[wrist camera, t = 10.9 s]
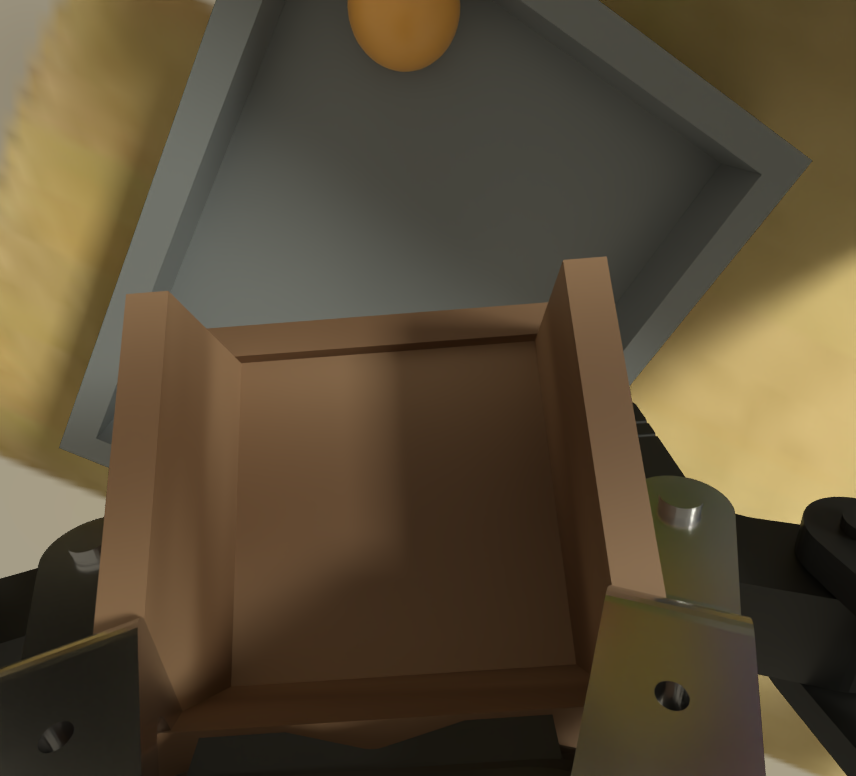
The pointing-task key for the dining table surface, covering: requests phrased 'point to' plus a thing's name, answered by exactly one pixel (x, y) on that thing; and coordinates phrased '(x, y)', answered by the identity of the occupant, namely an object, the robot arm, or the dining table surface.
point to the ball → (404, 30)
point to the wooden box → (375, 514)
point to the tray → (437, 178)
